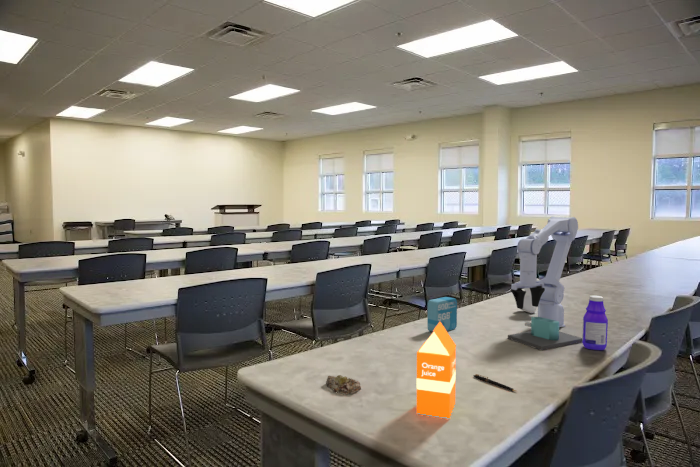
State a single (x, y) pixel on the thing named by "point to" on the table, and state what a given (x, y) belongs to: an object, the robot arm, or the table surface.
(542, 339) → the rubber mat
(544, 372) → the table surface
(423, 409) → the orange juice
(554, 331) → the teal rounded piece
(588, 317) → the bottle
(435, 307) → the data package
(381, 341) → the table surface
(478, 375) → the fountain pen
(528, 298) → the white teddy bear
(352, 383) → the mineral rock
